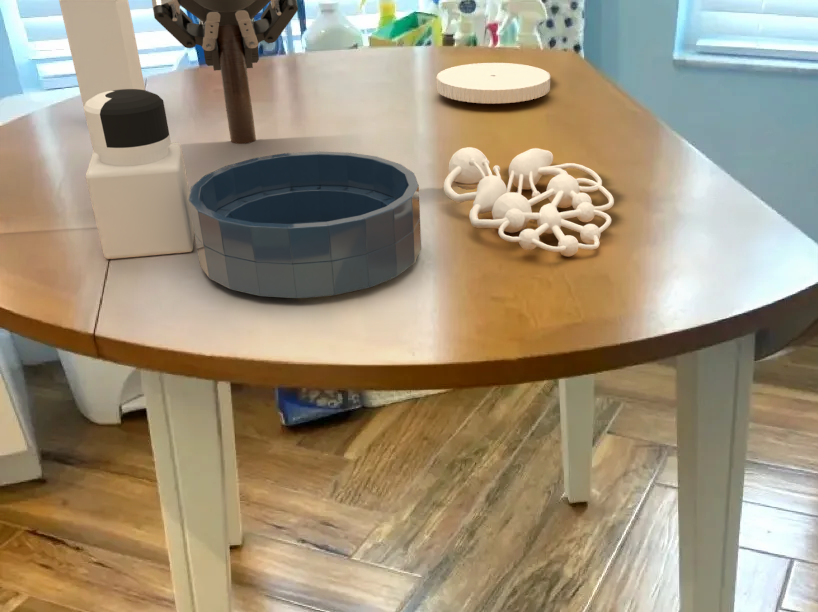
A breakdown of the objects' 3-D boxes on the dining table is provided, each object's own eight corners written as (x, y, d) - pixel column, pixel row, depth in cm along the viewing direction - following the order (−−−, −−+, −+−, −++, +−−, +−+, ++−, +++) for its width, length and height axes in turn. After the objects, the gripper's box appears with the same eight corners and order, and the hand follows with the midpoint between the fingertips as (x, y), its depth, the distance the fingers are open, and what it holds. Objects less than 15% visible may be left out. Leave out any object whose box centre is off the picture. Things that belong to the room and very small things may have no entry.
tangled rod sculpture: (647, 268, 79) (657, 219, 76) (476, 269, 76) (481, 219, 73) (578, 184, 94) (585, 141, 92) (434, 182, 91) (436, 139, 89)
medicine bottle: (194, 222, 85) (170, 80, 78) (193, 253, 79) (167, 103, 73) (111, 229, 84) (78, 86, 77) (104, 261, 78) (68, 109, 71)
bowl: (195, 314, 70) (180, 235, 67) (208, 226, 84) (196, 158, 81) (434, 295, 72) (431, 218, 69) (407, 213, 86) (404, 146, 83)
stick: (223, 162, 99) (202, 26, 92) (225, 150, 102) (205, 18, 95) (266, 160, 99) (249, 25, 92) (266, 147, 103) (250, 16, 96)
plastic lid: (415, 103, 117) (415, 81, 116) (471, 78, 127) (471, 58, 126) (518, 118, 112) (518, 95, 110) (567, 90, 121) (569, 69, 120)
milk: (140, 125, 111) (97, -94, 98) (86, 127, 110) (36, -93, 98) (149, 111, 116) (110, -100, 103) (98, 112, 115) (52, -99, 103)
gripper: (294, -102, 83) (294, 24, 100) (127, -97, 80) (156, 32, 97) (308, -25, 82) (306, 90, 98) (138, -17, 79) (166, 100, 96)
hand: (231, 61), depth 98 cm, fingers closed on stick, 2 cm apart
